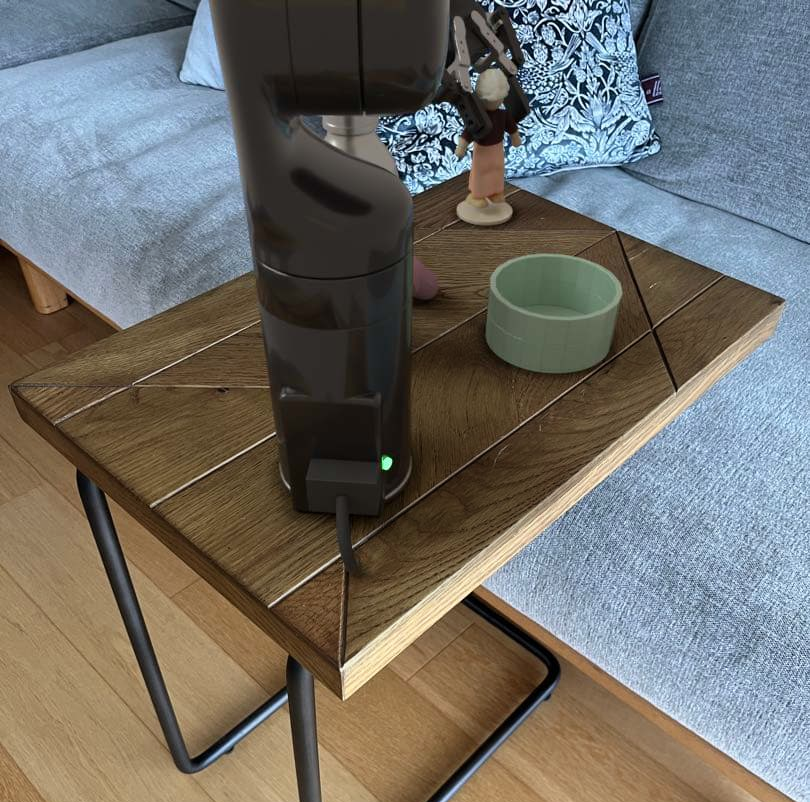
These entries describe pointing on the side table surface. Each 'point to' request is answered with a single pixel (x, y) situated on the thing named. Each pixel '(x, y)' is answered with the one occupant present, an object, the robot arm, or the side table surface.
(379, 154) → the metal water bottle
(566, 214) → the side table surface
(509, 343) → the bowl
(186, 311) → the side table surface
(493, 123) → the grandmother figurine
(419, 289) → the video game controller
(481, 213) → the coaster
